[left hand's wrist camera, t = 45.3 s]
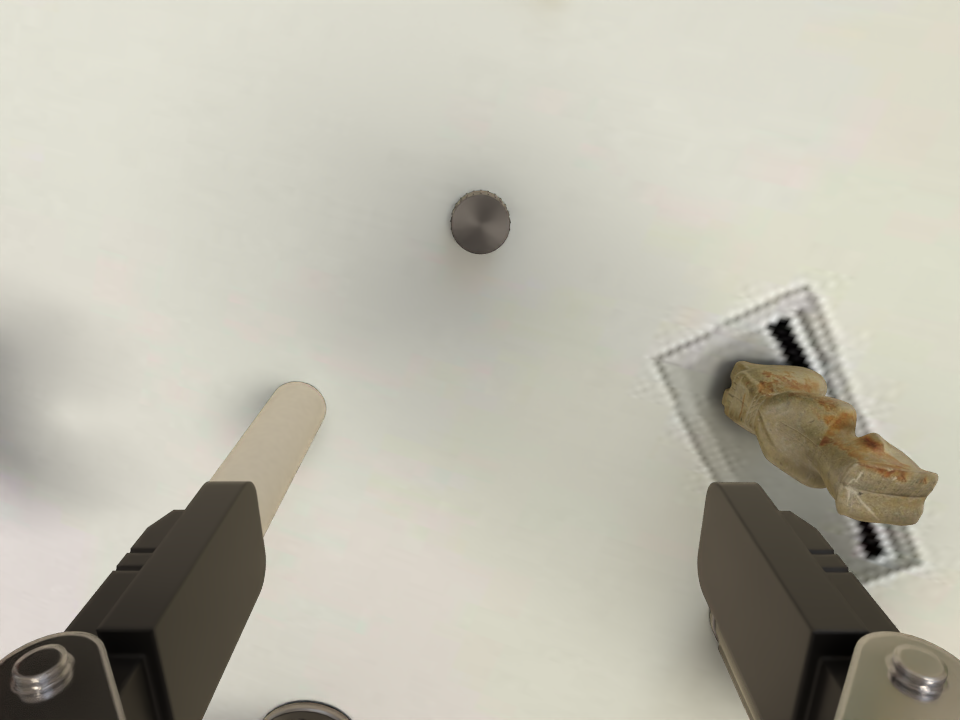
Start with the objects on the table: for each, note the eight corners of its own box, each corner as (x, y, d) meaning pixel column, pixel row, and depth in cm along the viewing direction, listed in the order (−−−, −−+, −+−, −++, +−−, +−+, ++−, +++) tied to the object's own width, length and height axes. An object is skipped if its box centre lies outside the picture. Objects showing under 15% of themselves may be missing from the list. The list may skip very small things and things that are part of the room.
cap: (451, 189, 43) (450, 193, 41) (510, 190, 43) (511, 194, 41) (451, 247, 45) (450, 254, 43) (508, 248, 45) (509, 255, 43)
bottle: (328, 431, 50) (208, 682, 28) (274, 430, 50) (111, 681, 28) (324, 381, 48) (194, 605, 26) (268, 380, 48) (92, 604, 26)
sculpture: (791, 430, 50) (914, 556, 36) (702, 410, 49) (791, 529, 35) (823, 361, 48) (967, 465, 34) (731, 338, 47) (838, 434, 33)
